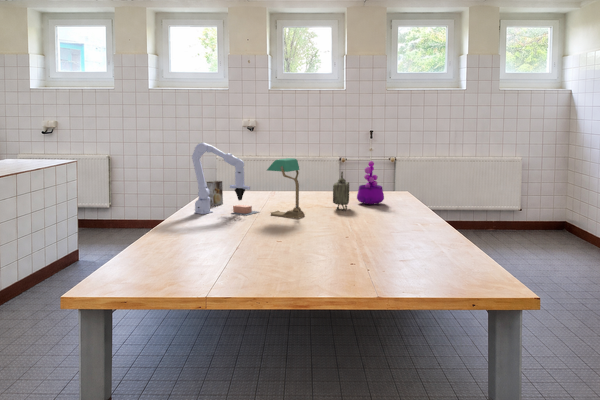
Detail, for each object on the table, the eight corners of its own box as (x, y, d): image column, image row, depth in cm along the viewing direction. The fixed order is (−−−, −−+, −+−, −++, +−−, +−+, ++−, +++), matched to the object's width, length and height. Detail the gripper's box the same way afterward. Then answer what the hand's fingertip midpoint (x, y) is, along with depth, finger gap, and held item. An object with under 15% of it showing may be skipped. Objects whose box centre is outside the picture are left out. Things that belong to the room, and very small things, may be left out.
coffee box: (216, 203, 396) (216, 180, 393) (223, 204, 392) (222, 181, 389) (206, 204, 389) (206, 181, 386) (213, 205, 385) (213, 182, 382)
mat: (246, 215, 349) (246, 215, 349) (230, 213, 355) (230, 213, 355) (259, 212, 361) (259, 211, 361) (244, 210, 367) (244, 209, 367)
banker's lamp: (294, 219, 338) (294, 160, 332) (265, 216, 348) (265, 159, 343) (307, 215, 351) (307, 158, 346) (279, 212, 362) (279, 157, 356)
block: (233, 212, 359) (246, 213, 354) (233, 205, 358) (246, 207, 353) (238, 210, 364) (251, 212, 359) (238, 204, 364) (251, 205, 359)
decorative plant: (376, 207, 383) (377, 162, 378) (352, 204, 393) (352, 161, 388) (388, 203, 398) (389, 160, 394) (364, 200, 408) (365, 159, 404)
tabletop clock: (346, 211, 366) (347, 172, 362) (332, 210, 368) (333, 172, 364) (349, 207, 380) (349, 170, 376) (335, 207, 382) (336, 170, 378)
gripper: (252, 178, 357) (253, 200, 359) (234, 177, 364) (234, 198, 366) (246, 180, 351) (246, 201, 353) (227, 178, 358) (227, 199, 360)
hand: (240, 200), depth 359 cm, fingers closed
